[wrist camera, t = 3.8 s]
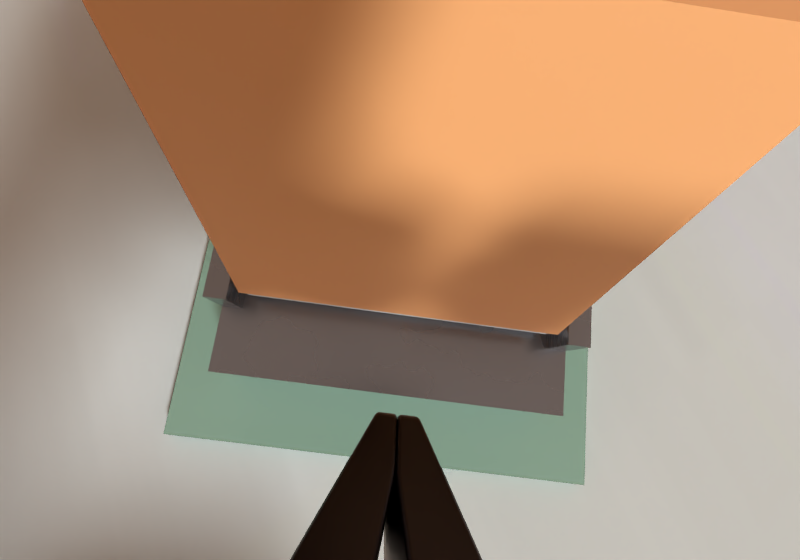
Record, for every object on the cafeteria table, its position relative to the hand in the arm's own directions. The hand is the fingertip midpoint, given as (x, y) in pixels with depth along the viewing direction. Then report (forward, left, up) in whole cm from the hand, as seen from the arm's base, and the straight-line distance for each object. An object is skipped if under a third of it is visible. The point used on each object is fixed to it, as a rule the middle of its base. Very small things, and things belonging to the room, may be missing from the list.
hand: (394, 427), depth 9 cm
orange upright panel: (+2, +3, -5) cm, 6 cm away
